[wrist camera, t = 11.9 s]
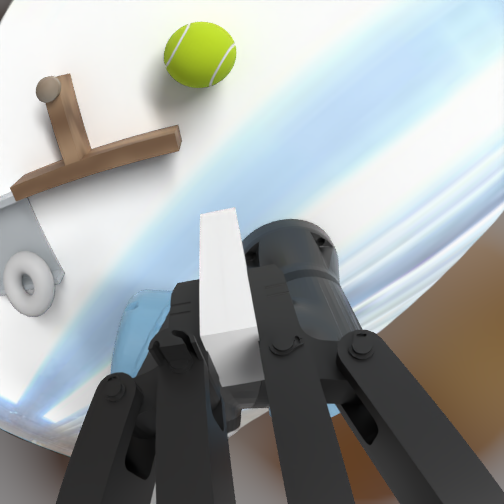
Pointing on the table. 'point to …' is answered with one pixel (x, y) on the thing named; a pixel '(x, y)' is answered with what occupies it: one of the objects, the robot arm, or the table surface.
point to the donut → (40, 277)
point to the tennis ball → (200, 54)
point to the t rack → (85, 143)
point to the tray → (23, 238)
